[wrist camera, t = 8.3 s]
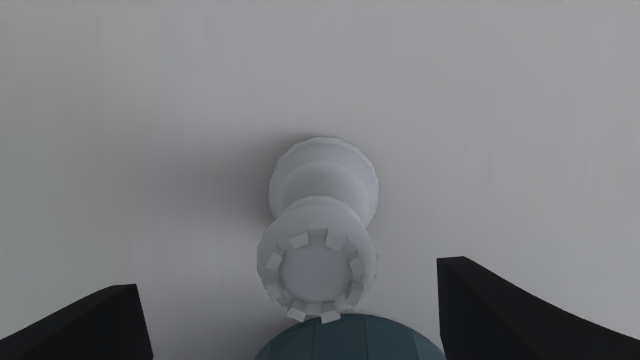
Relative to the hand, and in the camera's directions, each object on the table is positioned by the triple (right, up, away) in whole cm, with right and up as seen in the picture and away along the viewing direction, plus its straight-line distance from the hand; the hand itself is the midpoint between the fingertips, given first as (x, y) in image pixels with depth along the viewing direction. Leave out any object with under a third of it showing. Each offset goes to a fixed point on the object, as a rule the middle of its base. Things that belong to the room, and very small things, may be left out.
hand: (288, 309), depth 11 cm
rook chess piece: (+1, +3, +8) cm, 9 cm away
